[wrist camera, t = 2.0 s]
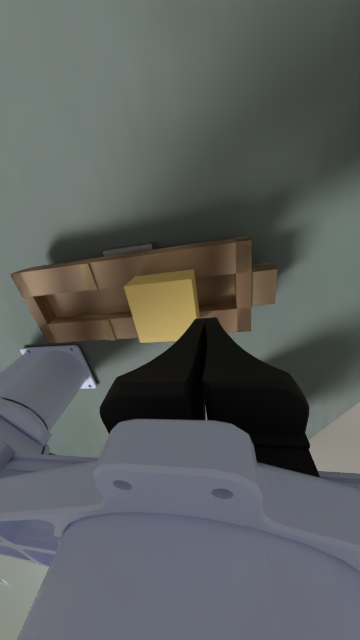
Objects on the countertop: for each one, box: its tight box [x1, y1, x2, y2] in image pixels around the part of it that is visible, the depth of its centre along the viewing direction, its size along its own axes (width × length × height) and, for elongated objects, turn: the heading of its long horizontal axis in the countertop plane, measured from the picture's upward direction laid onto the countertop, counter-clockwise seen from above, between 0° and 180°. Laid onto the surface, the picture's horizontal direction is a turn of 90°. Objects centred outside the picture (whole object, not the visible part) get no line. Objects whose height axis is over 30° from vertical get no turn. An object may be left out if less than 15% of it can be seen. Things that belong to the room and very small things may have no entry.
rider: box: [124, 269, 200, 343], centre depth 17 cm, size 5×5×5 cm
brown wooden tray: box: [10, 236, 277, 343], centre depth 20 cm, size 24×8×3 cm, turn 99°
